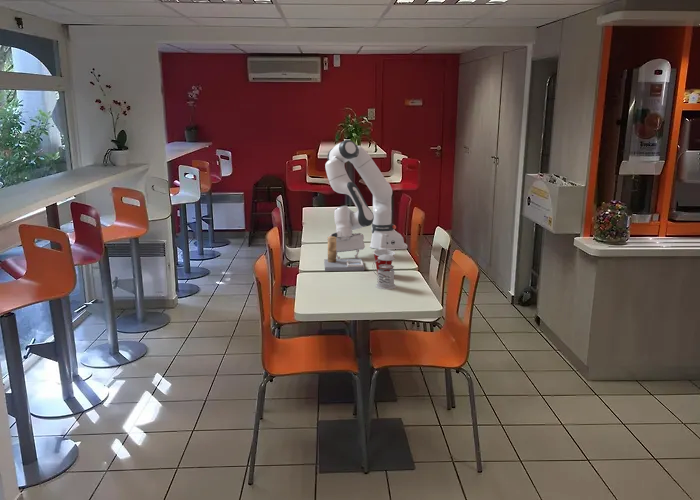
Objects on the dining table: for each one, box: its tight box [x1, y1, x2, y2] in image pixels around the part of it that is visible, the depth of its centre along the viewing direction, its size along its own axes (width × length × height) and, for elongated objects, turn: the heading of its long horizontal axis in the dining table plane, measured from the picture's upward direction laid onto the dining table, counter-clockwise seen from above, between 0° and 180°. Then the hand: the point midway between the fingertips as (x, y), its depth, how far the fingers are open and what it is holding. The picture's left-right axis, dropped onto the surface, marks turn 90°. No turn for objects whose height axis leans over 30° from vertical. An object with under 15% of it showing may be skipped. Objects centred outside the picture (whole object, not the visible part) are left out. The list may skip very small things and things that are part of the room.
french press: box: [372, 234, 397, 290], centre depth 270 cm, size 10×12×25 cm
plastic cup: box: [372, 249, 396, 277], centre depth 289 cm, size 11×11×12 cm
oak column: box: [327, 236, 337, 263], centre depth 307 cm, size 4×4×13 cm
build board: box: [323, 258, 365, 272], centre depth 305 cm, size 20×16×3 cm
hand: (347, 259), depth 320 cm, fingers open, 8 cm apart
